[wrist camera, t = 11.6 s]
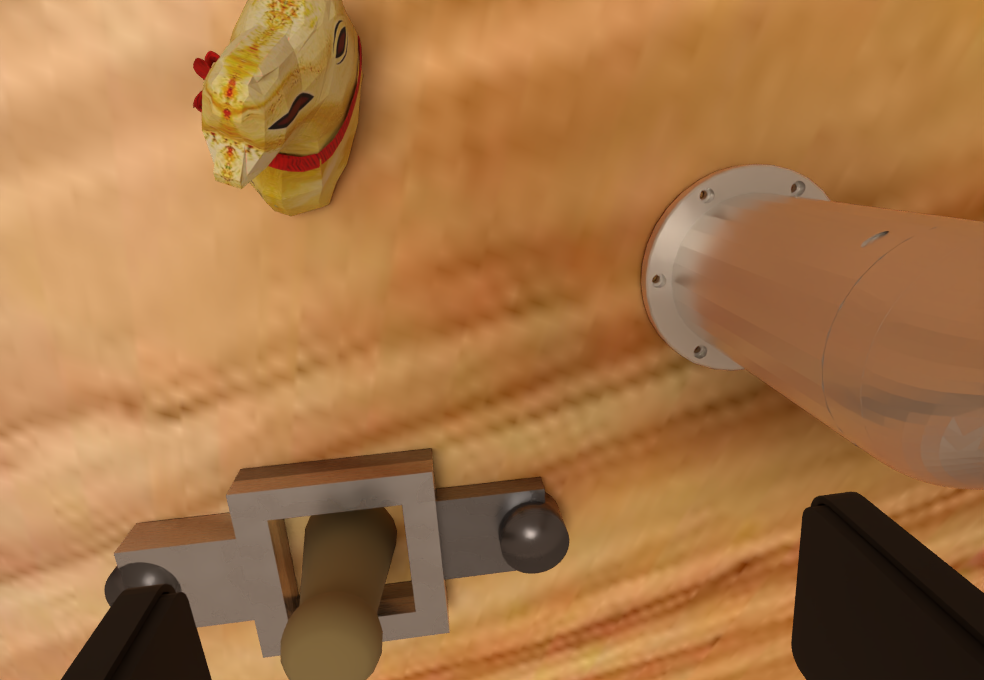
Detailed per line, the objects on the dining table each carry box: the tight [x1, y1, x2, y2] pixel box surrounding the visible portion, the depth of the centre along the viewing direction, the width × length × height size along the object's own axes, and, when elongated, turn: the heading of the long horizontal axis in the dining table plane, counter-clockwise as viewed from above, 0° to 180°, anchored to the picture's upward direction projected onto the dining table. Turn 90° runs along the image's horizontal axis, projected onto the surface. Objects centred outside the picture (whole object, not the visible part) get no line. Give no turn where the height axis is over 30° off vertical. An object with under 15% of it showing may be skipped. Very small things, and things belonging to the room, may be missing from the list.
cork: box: [280, 507, 397, 680], centre depth 35 cm, size 6×6×11 cm
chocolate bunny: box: [193, 0, 363, 216], centre depth 25 cm, size 7×11×15 cm, turn 161°
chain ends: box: [105, 449, 569, 658], centre depth 39 cm, size 28×12×3 cm, turn 94°
